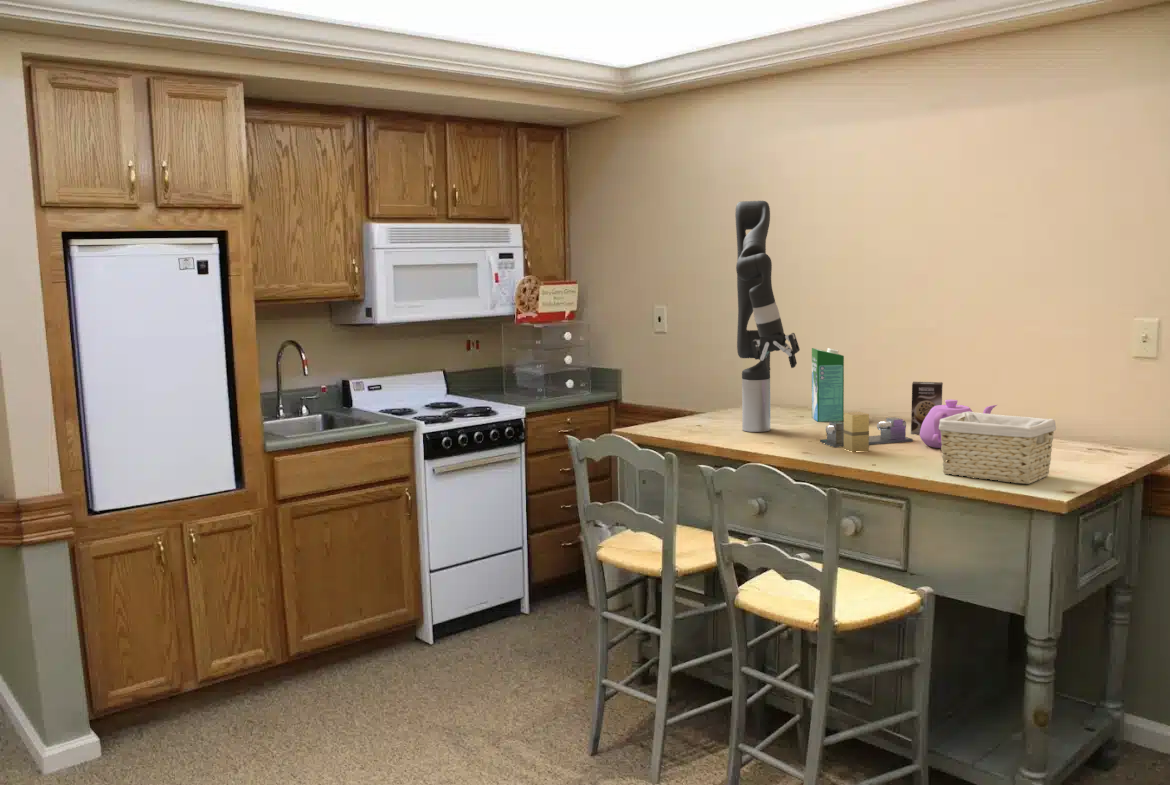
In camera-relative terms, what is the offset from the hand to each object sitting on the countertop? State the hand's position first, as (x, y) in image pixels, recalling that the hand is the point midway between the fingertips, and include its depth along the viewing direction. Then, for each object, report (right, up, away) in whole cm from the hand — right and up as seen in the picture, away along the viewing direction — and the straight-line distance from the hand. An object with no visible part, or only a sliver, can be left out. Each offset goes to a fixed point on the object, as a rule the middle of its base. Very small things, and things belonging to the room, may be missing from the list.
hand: (780, 369), depth 294 cm
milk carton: (+25, -17, +40) cm, 50 cm away
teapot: (+49, -23, -15) cm, 56 cm away
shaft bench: (+25, -22, -3) cm, 34 cm away
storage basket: (+44, -29, -51) cm, 73 cm away
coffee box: (+48, -20, +9) cm, 53 cm away
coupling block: (+19, -24, -15) cm, 34 cm away
